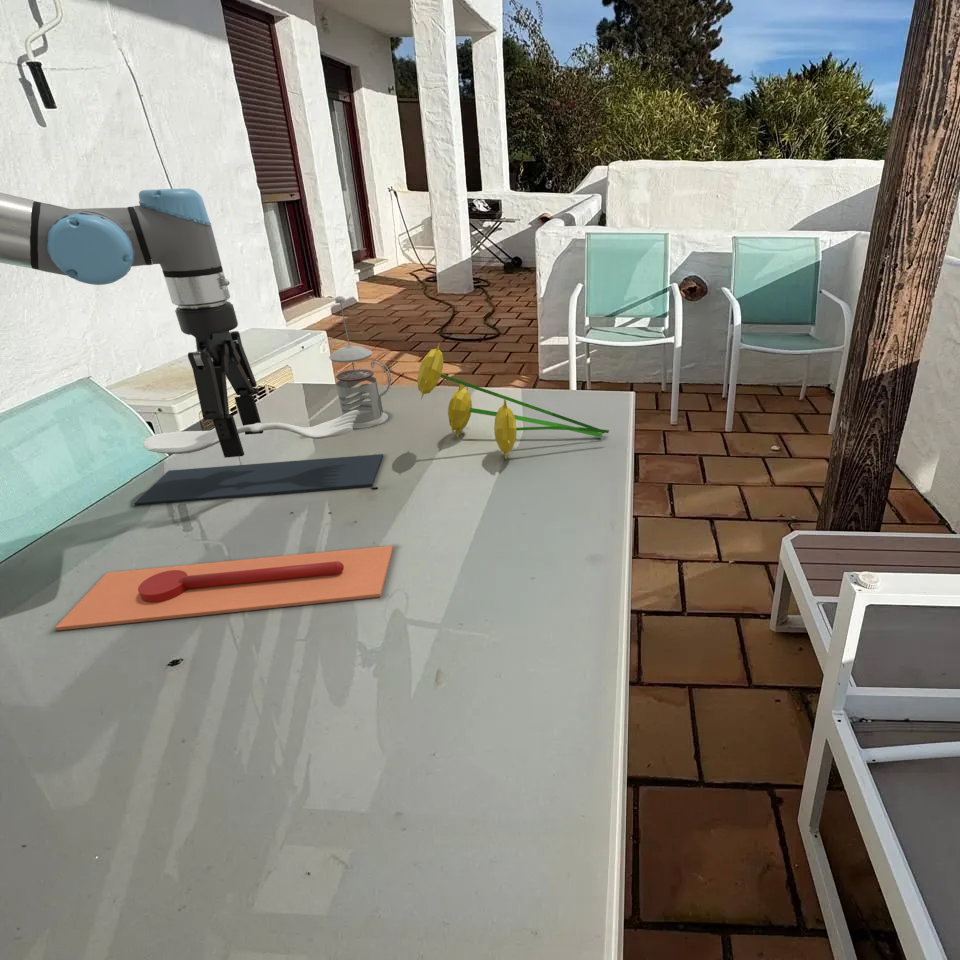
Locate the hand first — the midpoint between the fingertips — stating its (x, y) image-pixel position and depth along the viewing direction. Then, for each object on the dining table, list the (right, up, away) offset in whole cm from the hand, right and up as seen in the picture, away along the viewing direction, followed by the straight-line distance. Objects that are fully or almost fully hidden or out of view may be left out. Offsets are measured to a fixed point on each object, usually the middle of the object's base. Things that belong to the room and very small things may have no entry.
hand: (244, 444), depth 104 cm
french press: (+10, +6, +28) cm, 30 cm away
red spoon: (+13, -19, -24) cm, 33 cm away
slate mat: (+2, -6, +3) cm, 7 cm away
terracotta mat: (+13, -19, -24) cm, 33 cm away
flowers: (+42, +1, +16) cm, 45 cm away
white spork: (+2, 0, +1) cm, 2 cm away
